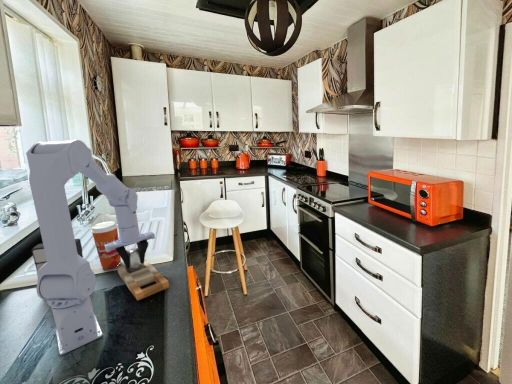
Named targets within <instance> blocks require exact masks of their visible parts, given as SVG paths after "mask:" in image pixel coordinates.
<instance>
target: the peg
mask: <svg viewBox="0 0 512 384" xmlns="http://www.w3.org/2000/svg"><path fill="white" fill-rule="evenodd" d="M126 251H127V258H128V263H129V272H128V273H129V274H130V273H133V272H136V271H139V270H141V269H143V268H142V263H141V257H140V251H139V248H138V247H133V248H129V249H126Z"/></svg>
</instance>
